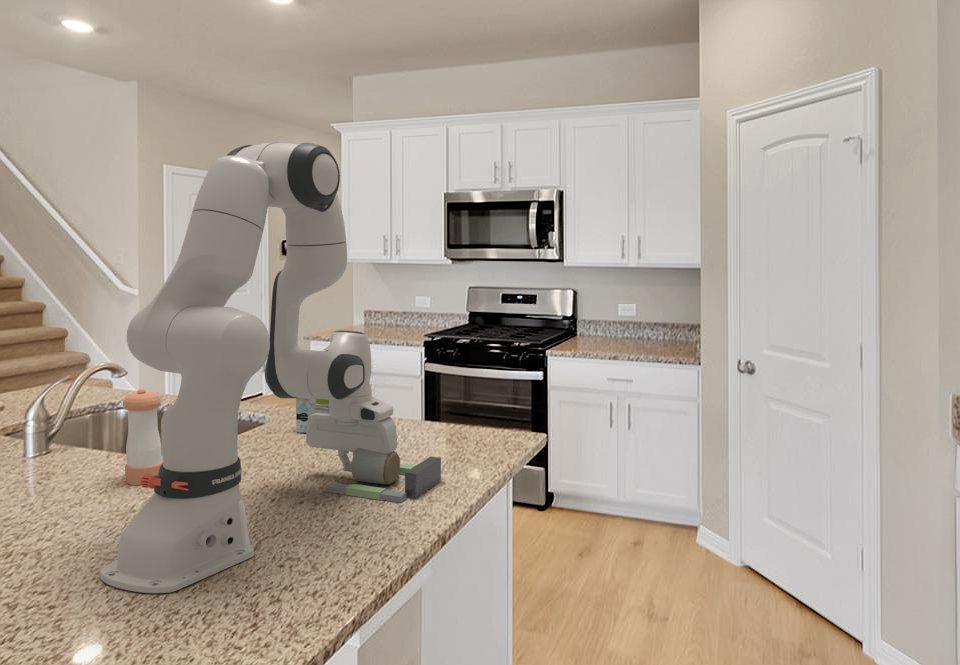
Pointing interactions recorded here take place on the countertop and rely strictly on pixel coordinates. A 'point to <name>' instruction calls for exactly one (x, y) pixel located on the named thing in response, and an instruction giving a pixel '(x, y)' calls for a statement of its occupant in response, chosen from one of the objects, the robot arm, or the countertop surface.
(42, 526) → the countertop surface
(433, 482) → the dark grey rectangular block
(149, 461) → the pepper shaker
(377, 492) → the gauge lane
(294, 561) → the countertop surface
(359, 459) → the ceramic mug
